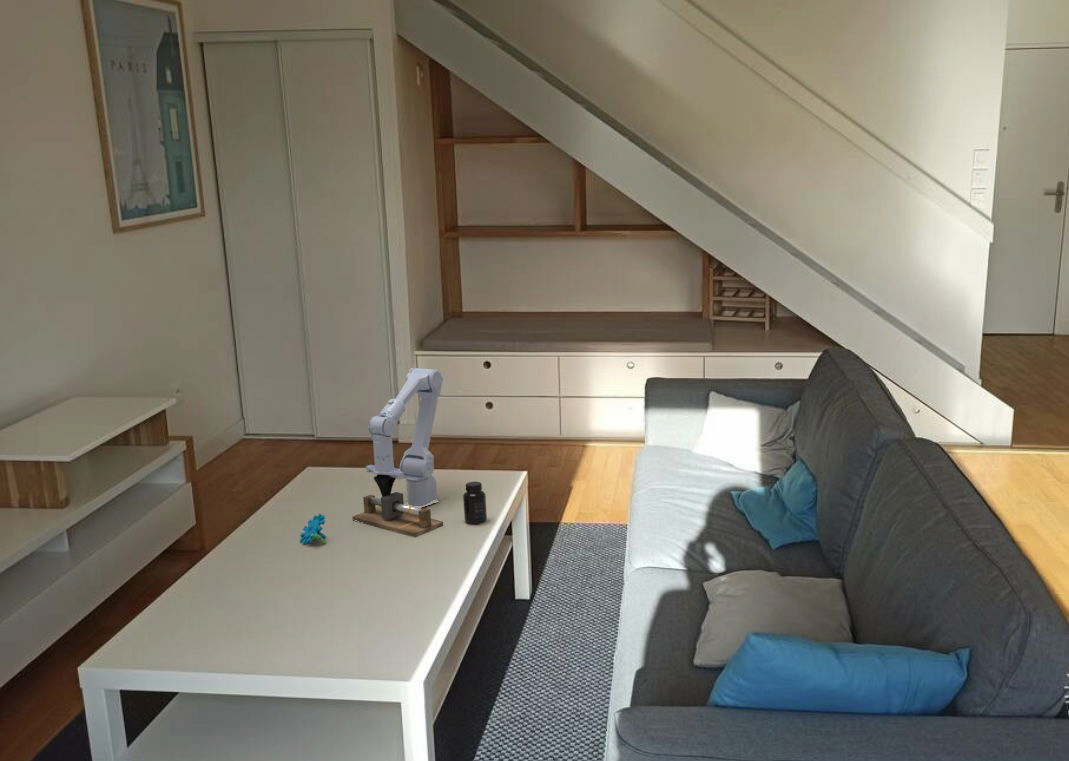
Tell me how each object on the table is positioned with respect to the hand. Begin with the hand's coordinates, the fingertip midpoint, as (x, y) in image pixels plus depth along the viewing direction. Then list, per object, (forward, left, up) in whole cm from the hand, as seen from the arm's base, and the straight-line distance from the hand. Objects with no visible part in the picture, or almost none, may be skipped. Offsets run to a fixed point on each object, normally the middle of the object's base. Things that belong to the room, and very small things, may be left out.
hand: (386, 497), depth 307 cm
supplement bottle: (-14, +24, -7) cm, 28 cm away
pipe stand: (0, +4, -7) cm, 8 cm away
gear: (+25, -5, -8) cm, 26 cm away
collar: (0, +3, -5) cm, 6 cm away
